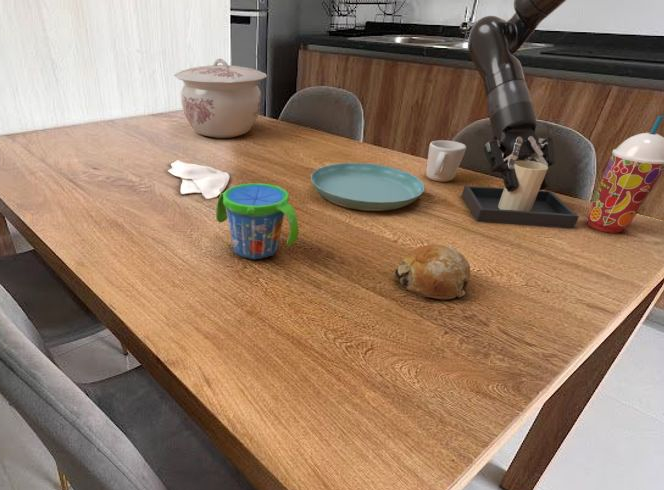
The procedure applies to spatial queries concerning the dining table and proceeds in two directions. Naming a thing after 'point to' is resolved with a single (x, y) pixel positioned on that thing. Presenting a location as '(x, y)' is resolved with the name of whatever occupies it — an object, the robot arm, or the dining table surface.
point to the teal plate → (366, 186)
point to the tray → (543, 211)
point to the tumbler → (524, 186)
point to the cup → (444, 160)
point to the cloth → (200, 179)
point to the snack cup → (256, 218)
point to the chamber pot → (221, 98)
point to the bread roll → (434, 272)
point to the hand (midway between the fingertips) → (528, 188)
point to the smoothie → (627, 181)
